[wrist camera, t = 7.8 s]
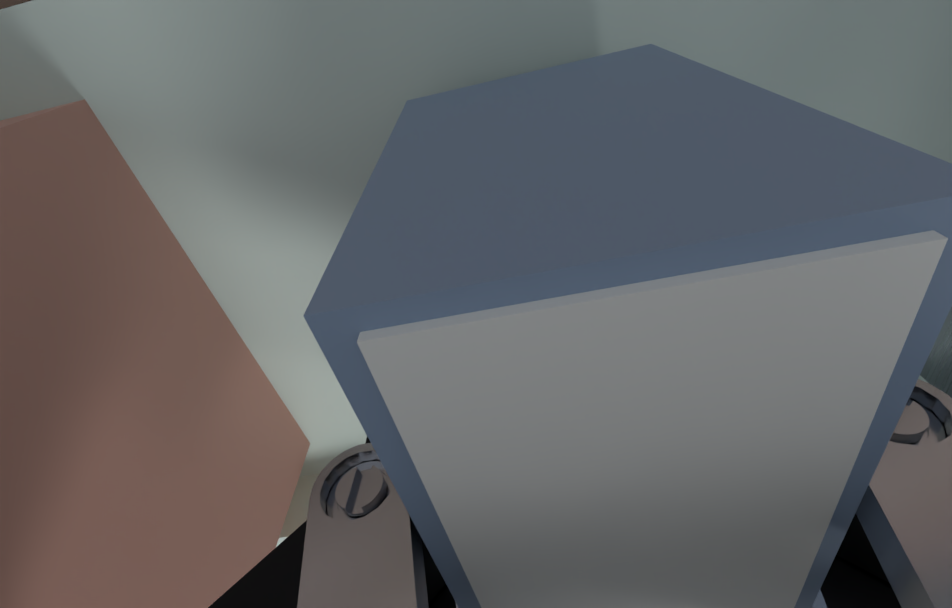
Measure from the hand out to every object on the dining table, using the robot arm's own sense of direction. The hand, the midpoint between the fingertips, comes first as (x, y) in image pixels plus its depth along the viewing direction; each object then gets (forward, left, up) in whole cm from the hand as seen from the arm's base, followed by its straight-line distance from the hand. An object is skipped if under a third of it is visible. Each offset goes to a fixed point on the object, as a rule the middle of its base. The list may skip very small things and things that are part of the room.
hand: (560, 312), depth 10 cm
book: (0, 0, -1) cm, 1 cm away
